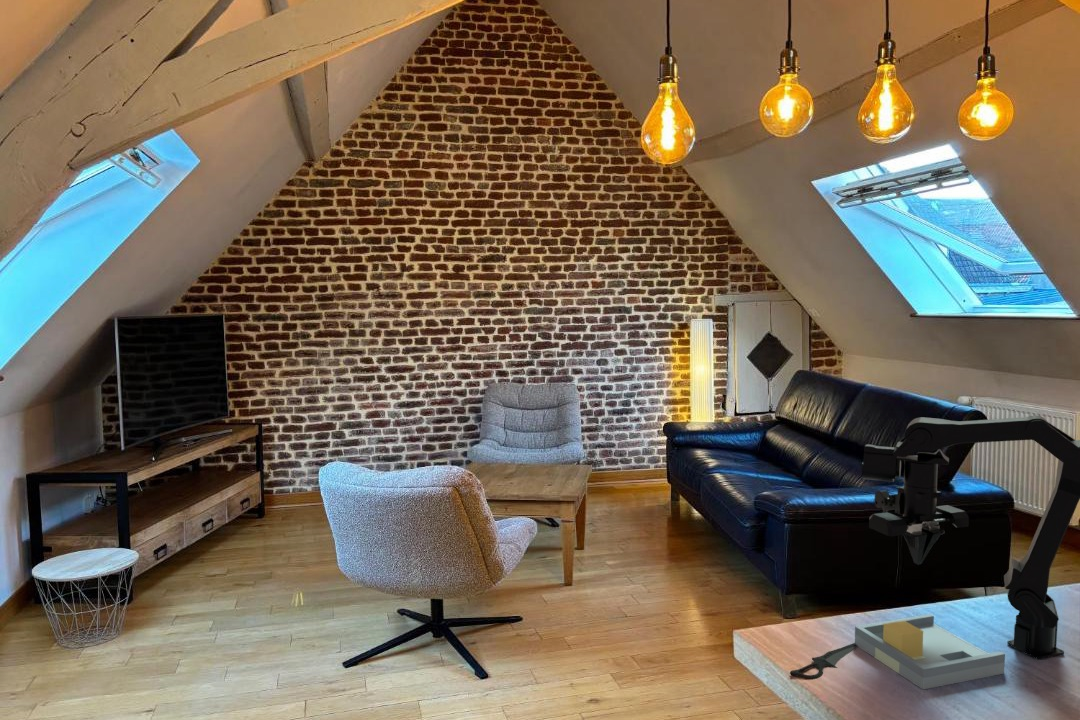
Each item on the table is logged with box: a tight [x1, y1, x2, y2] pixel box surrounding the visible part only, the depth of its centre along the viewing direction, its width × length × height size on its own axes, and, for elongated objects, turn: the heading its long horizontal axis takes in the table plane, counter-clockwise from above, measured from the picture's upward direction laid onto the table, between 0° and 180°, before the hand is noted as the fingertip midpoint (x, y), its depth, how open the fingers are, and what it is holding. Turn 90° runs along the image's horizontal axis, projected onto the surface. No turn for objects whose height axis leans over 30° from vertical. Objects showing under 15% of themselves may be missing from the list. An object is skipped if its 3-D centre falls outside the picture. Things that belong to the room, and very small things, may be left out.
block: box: [883, 621, 923, 658], centre depth 138 cm, size 4×4×4 cm
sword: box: [789, 642, 859, 680], centre depth 142 cm, size 27×4×1 cm, turn 126°
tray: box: [854, 613, 1006, 690], centre depth 140 cm, size 17×17×4 cm
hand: (917, 563), depth 151 cm, fingers closed
